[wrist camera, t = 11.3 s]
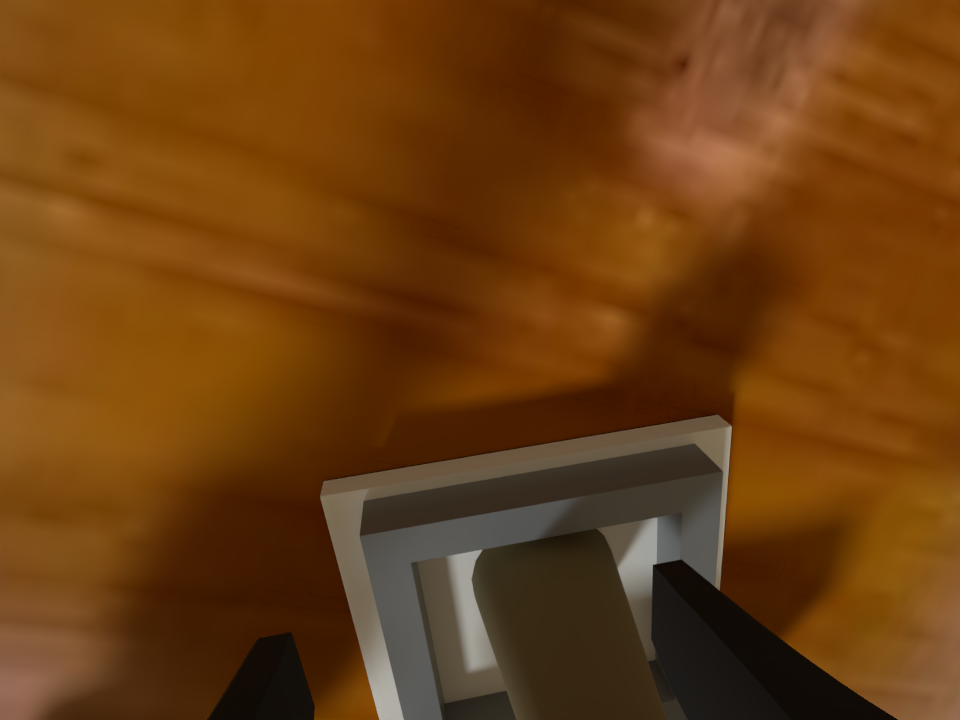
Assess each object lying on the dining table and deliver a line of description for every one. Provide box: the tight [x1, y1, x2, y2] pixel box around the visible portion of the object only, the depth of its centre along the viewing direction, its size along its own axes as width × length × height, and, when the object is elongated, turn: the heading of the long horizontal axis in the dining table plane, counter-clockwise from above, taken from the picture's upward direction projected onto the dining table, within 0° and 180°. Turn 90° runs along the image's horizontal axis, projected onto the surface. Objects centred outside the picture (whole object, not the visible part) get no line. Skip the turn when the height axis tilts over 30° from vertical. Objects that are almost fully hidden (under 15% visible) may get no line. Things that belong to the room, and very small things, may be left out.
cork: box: [471, 529, 667, 720], centre depth 17 cm, size 6×6×11 cm
